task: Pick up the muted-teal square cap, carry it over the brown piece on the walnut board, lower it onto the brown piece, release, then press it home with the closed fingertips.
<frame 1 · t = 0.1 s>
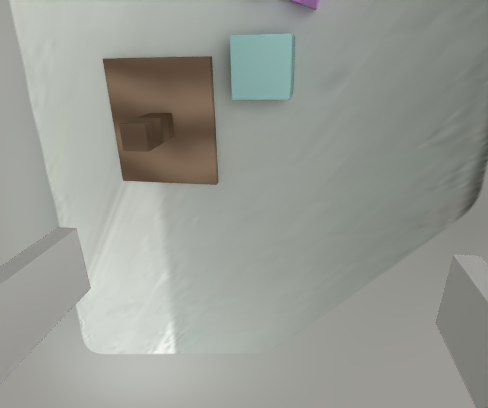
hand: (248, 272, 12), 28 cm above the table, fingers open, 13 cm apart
brown piece: (165, 123, 39), on the table
cap: (268, 65, 35), on the table
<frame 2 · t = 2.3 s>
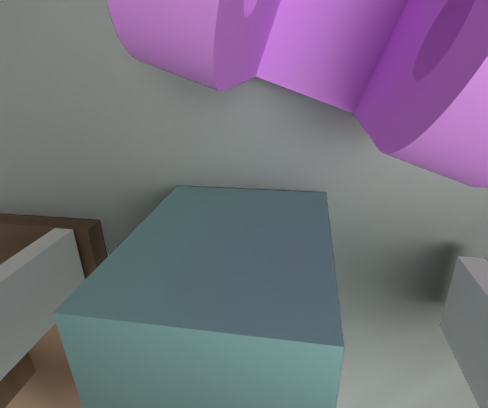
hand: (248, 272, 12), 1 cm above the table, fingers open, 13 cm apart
brown piece: (17, 336, 17), on the table
cap: (250, 253, 13), on the table
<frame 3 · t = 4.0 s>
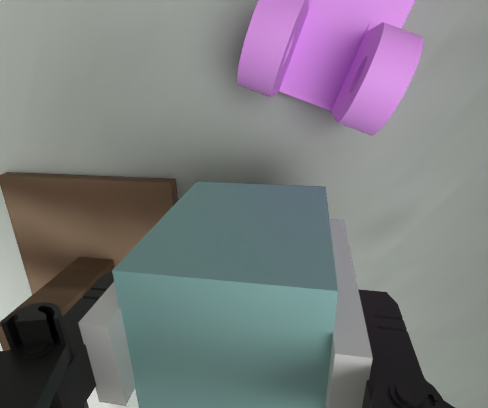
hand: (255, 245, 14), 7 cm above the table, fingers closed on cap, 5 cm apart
brown piece: (105, 268, 25), on the table
cap: (258, 241, 15), point 6 cm above the table, touching gripper
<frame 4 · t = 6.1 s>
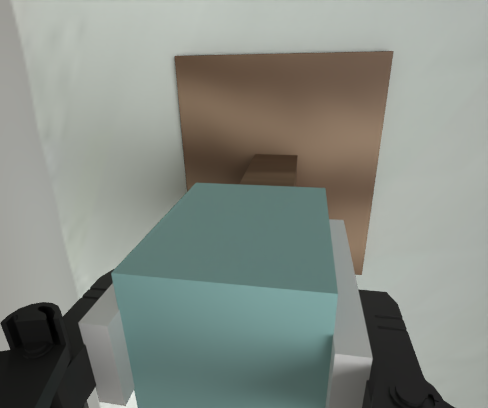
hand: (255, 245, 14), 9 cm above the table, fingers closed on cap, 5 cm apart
brown piece: (277, 170, 22), on the table
cap: (258, 242, 15), point 9 cm above the table, touching gripper
when the fingers open (3 cm above the table, at t = 8.2 s): cap stays where it is, resting on brown piece.
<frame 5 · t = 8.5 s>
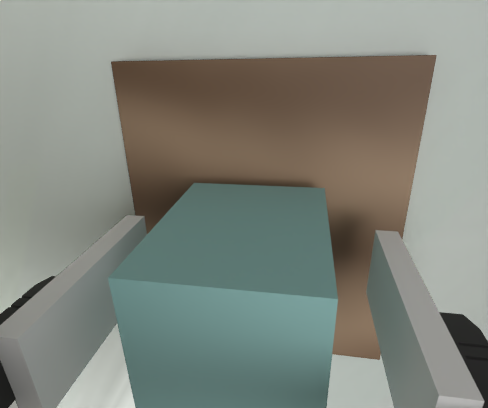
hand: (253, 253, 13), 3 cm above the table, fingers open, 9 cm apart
brown piece: (262, 220, 16), on the table
cap: (257, 242, 14), point 2 cm above the table, touching brown piece
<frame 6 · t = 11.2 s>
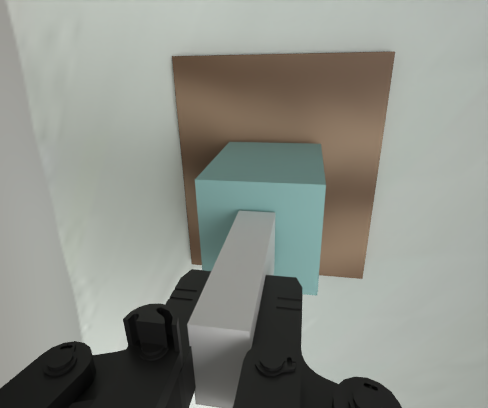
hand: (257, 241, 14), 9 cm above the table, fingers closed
brown piece: (276, 172, 22), on the table
cap: (273, 185, 20), point 2 cm above the table, touching gripper, brown piece
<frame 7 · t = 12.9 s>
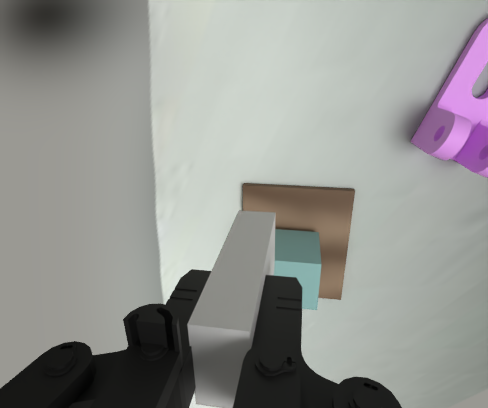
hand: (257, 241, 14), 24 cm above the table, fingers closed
brown piece: (294, 241, 40), on the table
bracket: (474, 87, 32), on the table
cap: (293, 250, 39), point 2 cm above the table, touching brown piece
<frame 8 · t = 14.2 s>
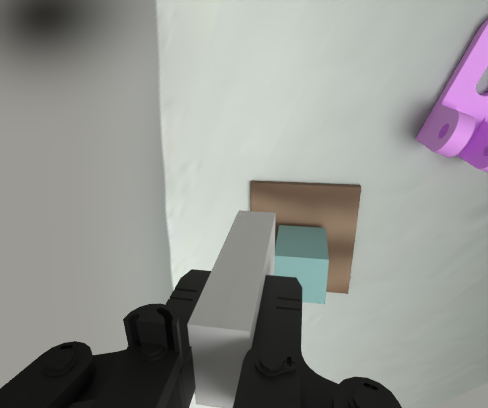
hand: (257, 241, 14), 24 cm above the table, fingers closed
brown piece: (301, 237, 41), on the table
bracket: (479, 84, 32), on the table
cap: (301, 246, 40), point 2 cm above the table, touching brown piece
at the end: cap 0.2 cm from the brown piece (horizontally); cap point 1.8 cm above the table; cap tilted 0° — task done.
